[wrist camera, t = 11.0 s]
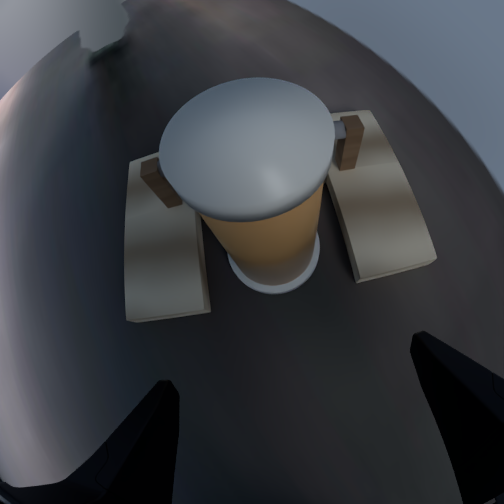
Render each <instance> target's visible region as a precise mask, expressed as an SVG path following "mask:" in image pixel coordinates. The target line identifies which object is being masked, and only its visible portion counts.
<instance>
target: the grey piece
mask: <svg viewBox="0 0 504 504" xmlns="http://www.w3.org/2000/svg"><path fill="white" fill-rule="evenodd" d="M330 115H331V117H332V119H333V123H334V127H335V140H334V148H333V155H332V162H331V166H330V169H329V172H328V174H327V176H326V178H325V180H324V182H323V183H326V184H327V187H328V189H329V192H330V195H331V198H332V202H333V205H334V208H335V211H336V214H337V217H338V221H339V224H340V227H341V231H342V234H343V237H344V241H345V244H346V248H347V252H348V255H349V259H350V263H351V266H352V270H353V274H354V278H355V282H356V283H359V282H364V281H368V280H372V279H376V278H380V277H384V276H388V275H392V274H395V273H399V272H403V271H407V270H411V269H414V268H418V267H421V266H425V265H429V264H430V263H431V262H433V261H434V260H436V259H437V256H436V253H435V250H434V247H433V244H432V241H431V238H430V235H429V232H428V229H427V227H426V224H425V221H424V219H423V216H422V214H421V211H420V209H419V206H418V204H417V201H416V199H415V197H414V194H413V192H412V190H411V187H410V185H409V183H408V181H407V179H406V176H405V174H404V172H403V170H402V168H401V166H400V164H399V162H398V160H397V158H396V156H395V154H394V152H393V150H392V148H391V146H390V144H389V143H388V141H387V139H386V137H385V135H384V133H383V132H382V130H381V128H380V126H379V125H378V123H377V121H376V120H375V118H374V116H373V115H372V113H371V111H370V110H362V111H351V112H341V113H332V114H330ZM124 283H125V308H126V320H127V321H132V322H146V321H153V320H161V319H168V318H175V317H182V316H189V315H196V314H202V313H209V312H211V307H210V299H209V291H208V282H207V274H206V265H205V256H204V246H203V236H202V225H201V215H200V214H199V213H198V212H197V211H195V210H194V209H192V208H191V207H189V206H188V205H187V204H186V203H185V202H184V201H183V200H182V199H181V198H180V196H179V195H178V194H177V192H176V191H175V190H174V188H173V187H172V186H171V184H170V183H169V181H168V180H167V179H166V177H165V176H164V173H163V171H162V169H161V165H160V161H159V152H157V153H154V154H152V155H149V156H146V157H143V158H140V159H137V160H134V161H132V162H130V166H129V175H128V185H127V198H126V213H125V238H124Z"/></svg>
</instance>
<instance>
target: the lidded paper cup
mask: <svg viewBox="0 0 504 504" xmlns="http://www.w3.org/2000/svg"><path fill="white" fill-rule="evenodd" d="M334 140H335V127H334V123H333V119H332V117H331V115H330V112H329V111H328V109H327V108H326V106H325V105H324V104H323V102H322V101H321V100H320V99H319V98H318V97H316V96H315V95H314V94H313V93H311V92H310V91H308V90H306V89H305V88H303V87H301V86H299V85H296V84H294V83H291V82H288V81H284V80H279V79H273V78H245V79H238V80H233V81H229V82H226V83H222V84H220V85H217V86H214V87H212V88H210V89H208V90H206V91H204V92H202V93H200V94H199V95H197V96H195V97H194V98H193V99H191V100H190V101H188V102H187V103H186V104H185V105H184V106H183V107H181V108H180V109H179V111H178V112H177V113H176V114H175V115H174V116H173V118H172V119H171V120H170V122H169V123H168V125H167V127H166V128H165V131H164V133H163V135H162V138H161V142H160V147H159V161H160V165H161V169H162V171H163V173H164V176H165V177H166V179H167V180H168V181H169V183H170V184H171V186H172V187H173V188H174V190H175V191H176V192H177V194H178V195H179V196H180V198H181V199H182V200H183V201H184V202H185V203H186V204H187V205H188V206H189V207H191V208H192V209H194V210H195V211H197V212H198V213H199V214H200V215H201V217H202V218H203V220H204V221H205V222H206V224H207V225H208V227H209V228H210V229H211V231H212V232H213V233H214V235H215V236H216V238H217V239H218V240H219V242H220V243H221V244H222V246H223V247H224V249H225V250H226V251H227V253H228V259H229V262H230V265H231V267H232V269H233V271H234V273H235V274H236V275H237V276H238V278H239V279H240V280H241V281H242V282H243V283H244V284H245V285H246V286H248V287H249V288H251V289H253V290H255V291H257V292H260V293H264V294H270V295H278V294H284V293H287V292H290V291H293V290H295V289H297V288H298V287H300V286H301V285H302V284H304V283H305V282H306V281H307V280H308V279H309V278H310V276H311V275H312V273H313V272H314V270H315V268H316V265H317V262H318V257H319V252H320V242H319V237H318V233H317V226H318V219H319V212H320V205H321V198H322V190H323V182H324V180H325V178H326V176H327V174H328V172H329V169H330V166H331V162H332V155H333V148H334Z"/></svg>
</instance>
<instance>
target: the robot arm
mask: <svg viewBox="0 0 504 504" xmlns="http://www.w3.org/2000/svg"><path fill="white" fill-rule="evenodd" d="M410 353H411V357H412V360H413V363H414V366H415V369H416V372H417V375H418V378H419V381H420V384H421V387H422V389H423V392H424V394H425V397H426V399H427V401H428V403H429V406H430V408H431V411H432V413H433V415H434V418H435V420H436V423H437V425H438V428H439V430H440V433H441V436H442V438H443V441H444V444H445V446H446V449H447V452H448V455H449V458H450V461H451V464H452V467H453V470H454V473H455V477H456V480H457V483H458V486H459V490H460V493H461V497H462V501H463V504H484V503H486V502H488V501H490V500H491V499H493V498H495V500H496V502H495V503H493V504H504V379H503V378H501V377H500V376H498V375H497V374H495V373H492V372H491V371H490V370H488V369H487V368H485V367H483V366H482V365H480V364H479V363H477V362H475V361H474V360H472V359H470V358H469V357H467V356H465V355H464V354H462V353H460V352H459V351H457V350H456V349H454V348H452V347H451V346H449V345H447V344H446V343H444V342H442V341H441V340H439V339H437V338H436V337H434V336H432V335H430V334H429V333H427V332H425V331H420V332H417V333H415V334H414V335H413V338H412V343H411V347H410ZM179 400H180V397H179V393H178V391H177V390H176V388H175V387H174V385H173V384H172V382H171V381H170V380H159V381H158V382H157V383H156V384H155V386H154V387H153V388H152V389H151V390H150V391H149V392H148V394H147V395H146V396H145V397H144V398H143V399H142V400H141V402H140V403H139V404H138V405H137V406H136V407H135V408H134V409H133V411H132V412H131V413H130V414H129V415H128V416H127V417H126V419H125V420H124V421H123V422H122V423H121V424H120V425H119V426H118V428H117V429H116V430H115V431H114V432H113V433H112V434H111V435H110V436H109V438H108V439H107V440H106V441H105V442H104V443H103V444H102V445H101V446H100V448H99V449H98V450H97V451H96V452H95V453H94V454H93V455H92V456H91V457H90V458H89V459H88V460H87V461H85V462H84V463H83V464H82V465H81V466H80V467H79V468H78V469H76V470H75V471H74V472H73V473H72V474H71V475H70V476H68V477H67V478H66V479H64V480H63V481H60V482H58V483H53V484H47V485H40V486H31V487H20V488H18V487H12V486H11V485H9V484H8V483H6V482H0V495H1V496H2V497H3V498H5V499H6V500H7V501H8V502H10V503H11V504H172V493H173V482H174V472H175V463H176V454H177V445H178V437H179ZM0 504H7V503H5V502H4V501H2V500H0Z"/></svg>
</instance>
